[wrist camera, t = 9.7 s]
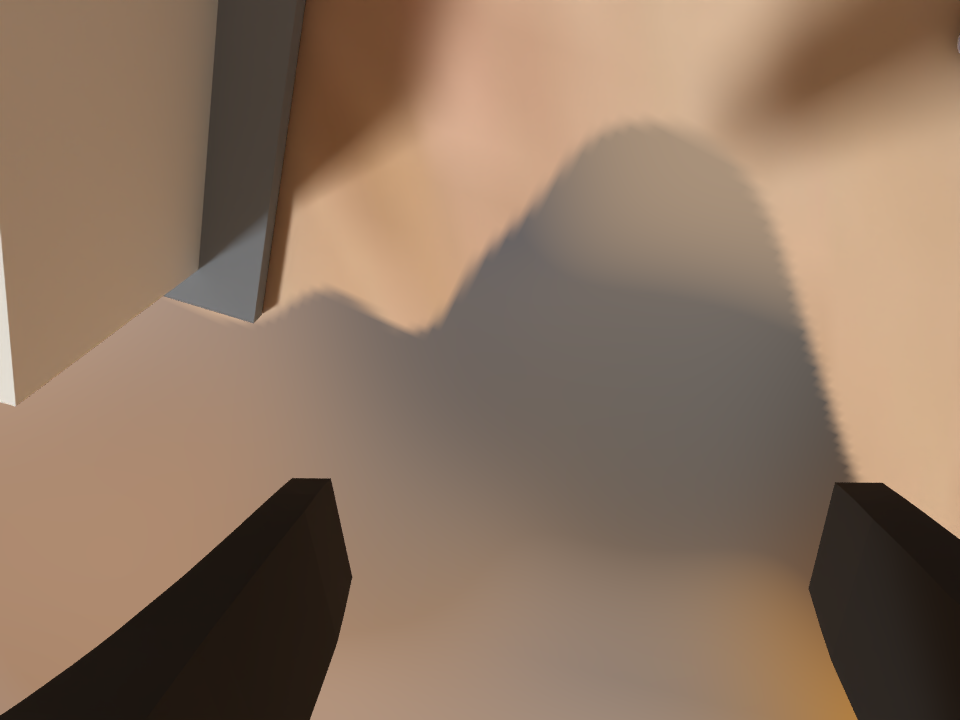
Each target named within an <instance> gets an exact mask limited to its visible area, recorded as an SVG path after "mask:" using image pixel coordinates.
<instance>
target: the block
mask: <svg viewBox="0 0 960 720" xmlns="http://www.w3.org/2000/svg"><path fill="white" fill-rule="evenodd" d="M217 11H218V0H0V402H2V403H6V404H9V405H12V406H17V405H18V404H20V403H21V402H22V401H24V400H25V399H26V398H28V397H29V396H30V395H32V394H33V393H34V392H36V391H37V390H38V389H40V388H41V387H42V386H44V385H45V384H46V383H48V382H49V381H50V380H52V379H53V378H54V377H56V376H57V375H59V374H60V373H61V372H62V371H64V370H65V369H66V368H68V367H69V366H70V365H72V364H73V363H75V362H76V361H77V360H79V359H80V358H81V357H83V356H84V355H85V354H86V353H88V352H89V351H90V350H92V349H93V348H95V347H96V346H97V345H98V344H100V343H101V342H102V341H104V340H105V339H106V338H108V337H109V336H111V335H112V334H113V333H115V332H116V331H117V330H119V329H120V328H121V327H123V326H124V325H125V324H127V323H128V322H129V321H131V320H132V319H133V318H134V317H136V316H137V315H138V314H140V313H141V312H143V311H144V310H145V309H147V308H148V307H149V306H151V305H152V304H153V303H155V302H156V301H157V300H159V299H160V298H161V297H163V296H164V295H165V294H167V293H168V292H169V291H171V290H172V289H173V288H175V287H176V286H177V285H179V284H180V283H181V282H183V281H184V280H185V279H187V278H188V277H189V276H191V275H192V274H193V273H195V272H196V271H197V270H198V268H199V255H200V241H201V227H202V214H203V200H204V187H205V173H206V160H207V146H208V133H209V119H210V106H211V92H212V79H213V65H214V52H215V38H216V25H217Z"/></svg>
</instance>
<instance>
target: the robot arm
mask: <svg viewBox="0 0 960 720" xmlns="http://www.w3.org/2000/svg"><path fill="white" fill-rule="evenodd" d="M957 49H958V51H959V53H960V34H959V37H958V41H957ZM351 580H352V574H351V570H350V565H349V561H348V556H347V552H346V546H345V543H344V538H343V533H342V528H341V523H340V519H339V515H338V510H337V505H336V501H335V496H334V491H333V487H332V482H331V479H315V478H309V479H306V478H292V479H291V480H290V481H288V482H287V483H286V484H285V485H284V486H283V487H281V488H280V489H279V490H278V491H277V492H276V493H275V494H274V495H273V496H271V497H270V498H269V499H268V500H267V501H266V502H265V503H264V504H263V505H261V506H260V507H259V508H258V509H257V510H256V511H255V512H254V513H253V514H252V515H251V516H250V517H249V518H247V519H246V520H245V521H244V522H243V523H242V524H241V525H240V526H239V527H238V528H236V529H235V530H234V531H233V532H232V533H231V534H230V535H229V536H228V537H227V538H225V539H224V540H223V541H222V542H221V543H220V544H219V545H218V546H217V547H215V548H214V549H213V550H212V551H211V552H210V553H209V554H208V555H206V556H205V557H204V558H203V559H202V560H201V561H200V562H199V563H197V564H196V565H195V566H194V567H193V568H192V569H191V570H190V571H188V572H187V573H186V574H185V575H184V576H183V577H182V578H180V579H179V580H178V581H177V582H176V583H174V584H173V585H172V586H171V587H170V588H168V589H167V590H166V591H165V592H164V593H163V594H161V595H160V596H159V597H157V598H156V599H155V600H154V601H153V602H151V603H150V604H149V605H148V606H147V607H145V608H144V609H143V610H142V611H140V612H139V613H138V614H137V615H136V616H134V617H133V618H132V619H131V620H130V621H128V622H127V623H126V624H125V625H123V626H122V627H121V628H120V629H119V630H117V631H116V632H115V633H114V634H112V635H111V636H110V637H109V638H107V639H106V640H105V641H103V642H102V643H101V644H100V645H98V646H97V647H96V648H94V649H93V650H92V651H90V652H89V653H88V654H86V655H85V656H84V657H82V658H81V659H80V660H78V661H77V662H76V663H74V664H73V665H72V666H70V667H69V668H67V669H66V670H65V671H63V672H62V673H61V674H59V675H58V676H56V677H55V678H54V679H52V680H51V681H49V682H48V683H47V684H45V685H44V686H43V687H41V688H40V689H38V690H37V691H35V692H34V693H33V694H31V695H30V696H28V697H27V698H25V699H24V700H23V701H21V702H20V703H18V704H17V705H15V706H14V707H12V708H11V709H9V710H8V711H7V712H5V713H3V714H2V715H0V720H310V717H311V715H312V712H313V709H314V706H315V703H316V701H317V698H318V695H319V693H320V690H321V687H322V684H323V681H324V679H325V676H326V673H327V670H328V667H329V664H330V662H331V659H332V656H333V653H334V650H335V647H336V644H337V641H338V637H339V633H340V628H341V625H342V621H343V616H344V612H345V607H346V603H347V598H348V594H349V589H350V585H351ZM809 591H810V594H811V598H812V601H813V604H814V608H815V611H816V614H817V618H818V621H819V624H820V628H821V631H822V634H823V637H824V640H825V643H826V646H827V648H828V652H829V655H830V658H831V661H832V663H833V665H834V667H835V670H836V672H837V674H838V677H839V679H840V681H841V683H842V685H843V688H844V690H845V692H846V694H847V696H848V699H849V701H850V703H851V705H852V707H853V710H854V712H855V714H856V717H857V719H858V720H960V539H958V538H957V537H956V536H954V535H953V534H952V533H950V532H949V531H948V530H946V529H945V528H944V527H942V526H941V525H940V524H938V523H937V522H936V521H934V520H933V519H932V518H930V517H929V516H928V515H926V514H925V513H924V512H922V511H921V510H920V509H918V508H917V507H916V506H914V505H913V504H911V503H910V502H909V501H907V500H906V499H905V498H903V497H902V496H900V495H899V494H898V493H896V492H895V491H893V490H892V489H890V488H889V487H887V486H886V485H885V484H883V483H835V485H834V489H833V493H832V497H831V501H830V505H829V509H828V513H827V517H826V521H825V525H824V530H823V533H822V537H821V541H820V545H819V549H818V553H817V558H816V561H815V565H814V569H813V573H812V577H811V581H810V586H809Z"/></svg>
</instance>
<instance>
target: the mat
mask: <svg viewBox="0 0 960 720" xmlns="http://www.w3.org/2000/svg"><path fill="white" fill-rule="evenodd" d="M305 2H306V0H218V11H217V25H216V38H215V52H214V65H213V79H212V92H211V106H210V119H209V133H208V146H207V160H206V173H205V187H204V200H203V214H202V227H201V241H200V255H199V268H198V270H197V271H196V272H195V273H193V274H192V275H191V276H189V277H188V278H187V279H185V280H184V281H183V282H181V283H180V284H179V285H177V286H176V287H175V288H173V289H172V290H171V291H169V292H168V293H167V294H165V295H164V296H165V297H168V298H171V299H175V300H178V301H181V302H185V303H188V304H191V305H195V306H198V307H201V308H205V309H208V310H211V311H214V312H218V313H221V314H224V315H228V316H231V317H234V318H238V319H241V320H244V321H248V322H251V323H254V322H255V321H256V320H257V319H258V318H259V317H260V316H261V315H262V309H263V302H264V295H265V288H266V280H267V273H268V266H269V259H270V252H271V245H272V238H273V230H274V223H275V216H276V209H277V202H278V195H279V188H280V180H281V173H282V166H283V159H284V152H285V145H286V138H287V130H288V123H289V116H290V109H291V102H292V95H293V88H294V80H295V73H296V66H297V59H298V52H299V45H300V37H301V30H302V23H303V16H304V9H305Z"/></svg>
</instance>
